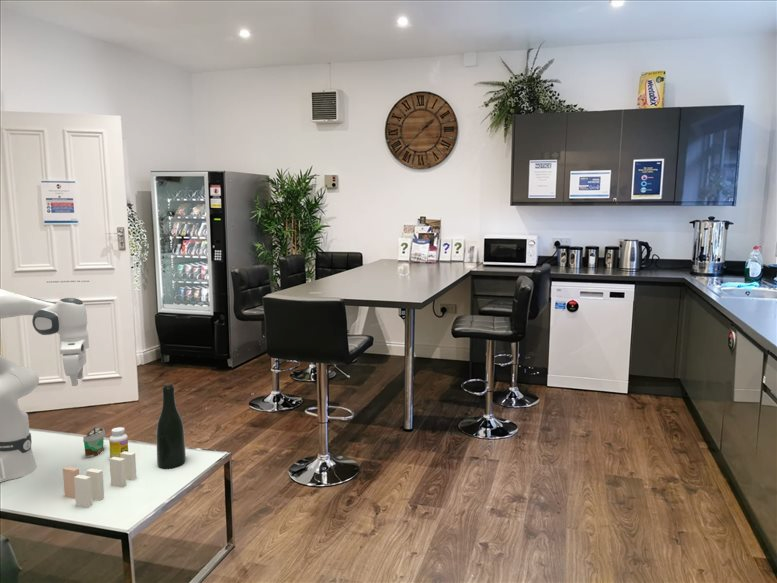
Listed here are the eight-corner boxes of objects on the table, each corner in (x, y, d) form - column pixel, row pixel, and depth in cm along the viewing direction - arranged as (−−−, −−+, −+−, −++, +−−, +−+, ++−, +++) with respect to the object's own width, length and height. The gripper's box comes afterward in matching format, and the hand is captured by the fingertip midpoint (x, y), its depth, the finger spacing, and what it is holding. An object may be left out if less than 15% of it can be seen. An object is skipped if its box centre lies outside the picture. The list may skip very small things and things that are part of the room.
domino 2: (87, 507, 194) (85, 479, 193) (75, 505, 195) (73, 477, 194) (92, 504, 196) (90, 476, 194) (80, 502, 197) (78, 474, 196)
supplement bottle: (121, 464, 228) (119, 433, 226) (106, 462, 229) (104, 431, 227) (132, 457, 234) (130, 426, 232) (117, 456, 235) (116, 425, 234)
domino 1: (75, 498, 200) (74, 470, 199) (64, 496, 202) (62, 468, 200) (80, 495, 202) (78, 468, 201) (69, 493, 204) (67, 466, 202)
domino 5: (132, 481, 213) (131, 455, 212) (121, 479, 215) (120, 453, 214) (136, 478, 215) (135, 453, 214) (125, 476, 217) (124, 451, 216)
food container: (101, 460, 231) (99, 436, 230) (84, 461, 230) (82, 437, 229) (110, 448, 243) (109, 425, 242) (94, 449, 242) (93, 426, 241)
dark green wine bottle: (176, 472, 221) (173, 388, 216) (151, 470, 223) (147, 386, 218) (191, 461, 231) (187, 380, 227) (166, 459, 233) (163, 379, 229)
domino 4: (122, 487, 209) (120, 460, 207) (111, 485, 210) (109, 458, 209) (126, 484, 210) (124, 458, 209) (115, 482, 212) (113, 456, 211)
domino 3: (99, 500, 199) (97, 472, 197) (88, 498, 200) (86, 470, 199) (104, 497, 201) (102, 470, 199) (92, 495, 202) (90, 468, 201)
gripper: (70, 338, 215) (72, 375, 216) (58, 350, 195) (61, 390, 197) (89, 337, 217) (91, 373, 218) (79, 349, 197) (82, 388, 199)
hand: (77, 381), depth 208 cm, fingers open, 8 cm apart
